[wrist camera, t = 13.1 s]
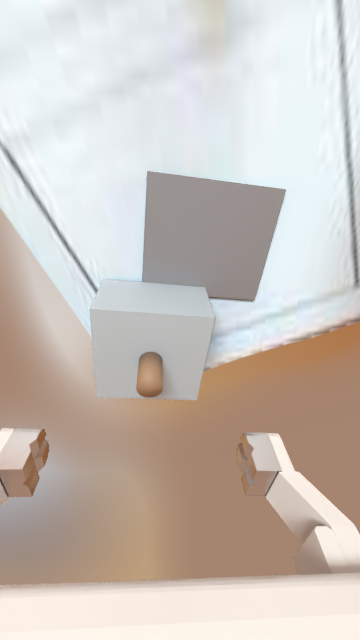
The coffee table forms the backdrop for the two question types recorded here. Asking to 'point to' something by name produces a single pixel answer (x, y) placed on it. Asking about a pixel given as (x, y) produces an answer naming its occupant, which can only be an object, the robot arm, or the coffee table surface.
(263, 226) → the mat
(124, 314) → the cover
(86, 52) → the coffee table surface
